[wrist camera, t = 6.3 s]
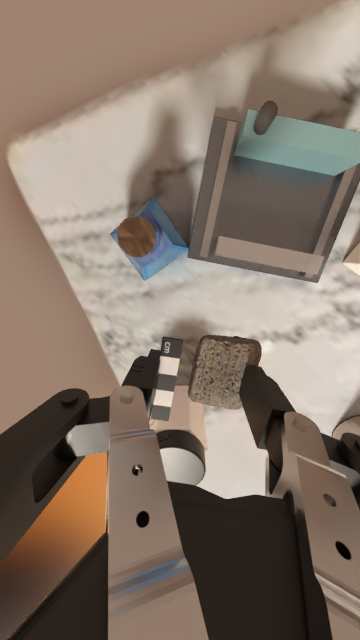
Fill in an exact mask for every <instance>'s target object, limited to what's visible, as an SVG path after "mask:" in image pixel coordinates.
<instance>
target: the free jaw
mask: <svg viewBox="0 0 360 640" xmlns="http://www.w3.org/2000/svg"><path fill="white" fill-rule="evenodd" d="M277 111H278V108H277V105H276V103H275V102H273V101H268V102H266V103H265V104H264V105H263V106H262V108H261V110H260V111H256V110H251V109H248V112H247V114H246V116H245V119H244V121H243V124H242V126H241V128H240V131H239V133H238V137H237V142H236V146H235V151H234V155H236V156H241V157H246V158H251V159H256V160H260V161H265V162H270V163H275V164H280V165H285V166H289V167H294V168H299V169H304V170H309V171H314V172H319V173H323V174H328V175H333V176H335V175H337V174H339V173H341V172H343V171H345V170H347V169H349V168H351V167H353V166H354V165H356V164H358V163H360V132H355V131H350V130H345V129H341V128H336V127H331V126H327V125H322V124H317V123H312V122H308V121H303V120H298V119H293V118H289V117H284V116H279V115H277Z"/></svg>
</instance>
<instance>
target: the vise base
mask: <svg viewBox="0 0 360 640" xmlns="http://www.w3.org/2000/svg"><path fill="white" fill-rule="evenodd" d="M242 124H243V123H242V122H237V121H233V120H228V119H223V118H218V117H214V120H213V126H212V131H211V136H210V141H209V147H208V152H207V157H206V163H205V168H204V173H203V179H202V184H201V189H200V194H199V200H198V205H197V210H196V216H195V221H194V226H193V232H192V237H191V242H190V247H189V253H188V258H192V259H197V260H202V261H207V262H212V263H217V264H223V265H228V266H233V267H238V268H243V269H248V270H253V271H258V272H264V273H269V274H274V275H279V276H284V277H289V278H294V279H299V280H304V281H310V282H315V283H318V281H319V279H320V276H321V274H322V271H323V269H324V267H325V264H326V262H327V259H328V257H329V254H330V252H331V250H332V247H333V245H334V242H335V240H336V237H337V235H338V233H339V230H340V228H341V225H342V223H343V220H344V218H345V216H346V213H347V211H348V208H349V206H350V203H351V201H352V199H353V196H354V194H355V191H356V189H357V186H358V184H359V181H360V163H358V164H356V165H354V166H353V167H351V168H349V169H347V170H345V171H343V172H341V173H339V174H337V175H335V176H333V175H328V174H323V173H319V172H314V171H309V170H304V169H299V168H294V167H289V166H285V165H280V164H275V163H270V162H265V161H260V160H256V159H251V158H246V157H241V156H236V155H234V151H235V146H236V142H237V137H238V133H239V131H240V128H241V126H242Z"/></svg>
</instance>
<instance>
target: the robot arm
mask: <svg viewBox="0 0 360 640" xmlns="http://www.w3.org/2000/svg"><path fill="white" fill-rule="evenodd" d="M160 353H161V351H160V350H154V349H151V350H150V353H149V355H148V357H145V356H140V357H138V358H137V359H135V360H134V362H133V364H132V366H131V368H130V371H129V372H128V374H127V376H126V378H125V380H124V382H123V384H122V386H121V387H118V388H116V389H115V390H113V391H112V393H111V394H110V396H108V397H103V398H94V399H89V395H88V393H87V392H86V391H84V390H82V389H75V388H73V389H67V390H63V391H61V392H59V393H57V394H56V395H54V396H53V397H51V398H50V399H49V400H47V401H46V402H45V403H43V404H42V405H40V406H39V407H38V408H36V409H35V410H33V411H32V412H31V413H29V414H28V415H27V416H25V417H24V418H22V419H21V420H20V421H18V422H17V423H16V424H14V425H13V426H11V427H10V428H9V429H8V430H6V431H5V432H3V433H2V434H1V435H0V565H1V563H2V562H3V561H4V560H5V558H6V557H7V556H8V555H9V553H10V552H11V550H12V549H13V548H14V547H15V545H16V544H17V543H18V541H19V540H20V539H21V538H22V537H23V535H24V534H25V533H26V531H27V530H28V529H29V528H30V526H31V525H32V524H33V523H34V521H35V520H36V519H37V517H38V516H39V515H40V514H41V512H42V511H43V510H44V508H45V507H46V506H47V505H48V504H49V502H50V501H51V500H52V498H53V497H54V496H55V494H56V493H57V492H58V491H59V489H60V488H61V487H62V486H63V484H64V483H65V482H66V480H67V479H68V478H69V477H70V475H71V474H72V473H73V472H74V470H75V469H76V468H77V466H78V465H79V464H80V463H81V461H82V460H83V459H84V458H85V456H86V455H90V454H96V453H102V452H107V483H106V515H105V517H106V518H105V533H104V534H103V535H102V536H101V537H100V538H99V539H98V540H97V542H96V543H95V544H94V545H93V546H92V547H91V548H90V549H89V550H88V552H87V553H86V554H85V555H84V556H83V557H82V558H81V559H80V560H79V561H78V562H77V563H76V564H75V566H74V567H73V568H72V569H71V570H70V571H69V572H68V573H67V574H66V575H65V576H64V577H63V579H62V580H61V581H60V582H59V583H58V584H57V585H56V586H55V587H54V589H52V591H51V592H50V593H49V594H48V595H47V596H46V597H45V598H44V599H43V600H42V601H41V602H40V604H39V605H38V606H37V607H36V608H35V609H34V610H33V611H32V612H31V613H30V614H29V615H28V617H27V618H26V619H25V620H24V621H23V622H22V623H21V624H20V625H19V626H18V627H17V628H16V630H15V631H14V632H13V633H12V634H11V635H10V636H9V637H8V638H7V639H6V640H360V416H357V417H353V418H350V419H348V420H346V421H344V422H343V423H341V424H340V425H339V426H338V427H337V428H336V429H335V430H334V432H333V435H332V437H330V436H327V435H325V434H322V433H320V430H319V428H318V426H317V425H316V424H315V423H314V422H313V421H312V420H310V419H309V418H308V417H306V416H304V415H302V414H300V413H297V412H296V411H295V410H294V408H293V407H292V405H291V404H290V402H289V401H288V399H287V398H286V396H284V393H283V392H282V390H281V389H280V387H279V386H278V384H277V383H276V382H275V381H274V380H273V379H271V378H270V377H268V376H267V375H266V374H265V372H264V371H263V369H262V368H261V367H258V366H252V365H247V366H246V368H245V371H244V375H243V378H242V381H241V385H240V389H239V396H240V399H241V402H242V405H243V408H244V411H245V414H246V417H247V420H248V423H249V425H250V428H251V431H252V434H253V437H254V440H255V443H256V446H257V448H259V449H265V450H267V451H268V456H267V458H266V490H265V496H261V495H250V496H244V497H238V498H232V499H224V498H222V497H219V496H217V495H215V494H213V493H211V492H208V491H206V490H204V489H202V488H200V487H197V486H195V485H191V484H185V483H178V482H172V481H167V479H166V475H165V471H164V466H163V462H162V458H161V453H160V449H159V444H158V440H157V436H156V432H155V430H154V429H152V430H151V429H150V425H149V420H150V416H151V412H152V408H153V404H154V399H155V395H156V388H157V381H158V374H159V367H160Z"/></svg>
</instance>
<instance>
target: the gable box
mask: <svg viewBox="0 0 360 640" xmlns="http://www.w3.org/2000/svg"><path fill="white" fill-rule="evenodd" d="M343 264H344V265H345V266H347V267H348V268H350V269H351V270H352V271H354V272H355V273H357V274H358V275H359V276H360V242H359V244H358V245H357V246H356V247H355V248H354V249H353V251H352V252H351V253H350V254H349V255H348V256H347V258H346V259H345V260H344V261H343Z"/></svg>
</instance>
